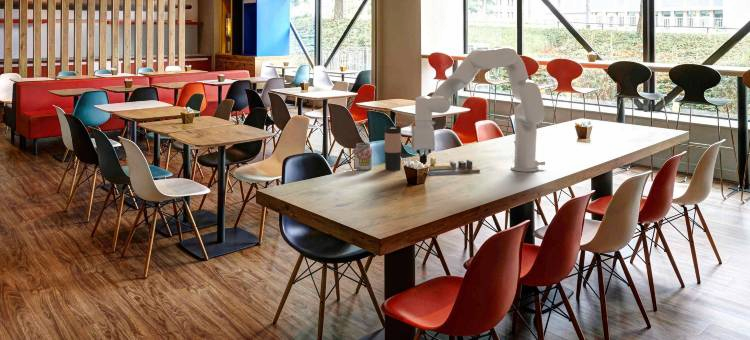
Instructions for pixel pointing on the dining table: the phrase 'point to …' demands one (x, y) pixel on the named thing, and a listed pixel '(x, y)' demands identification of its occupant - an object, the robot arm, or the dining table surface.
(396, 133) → the travel mug
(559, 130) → the dining table surface
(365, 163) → the glass jar
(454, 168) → the door plate
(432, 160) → the bolt
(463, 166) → the jamb keeper
